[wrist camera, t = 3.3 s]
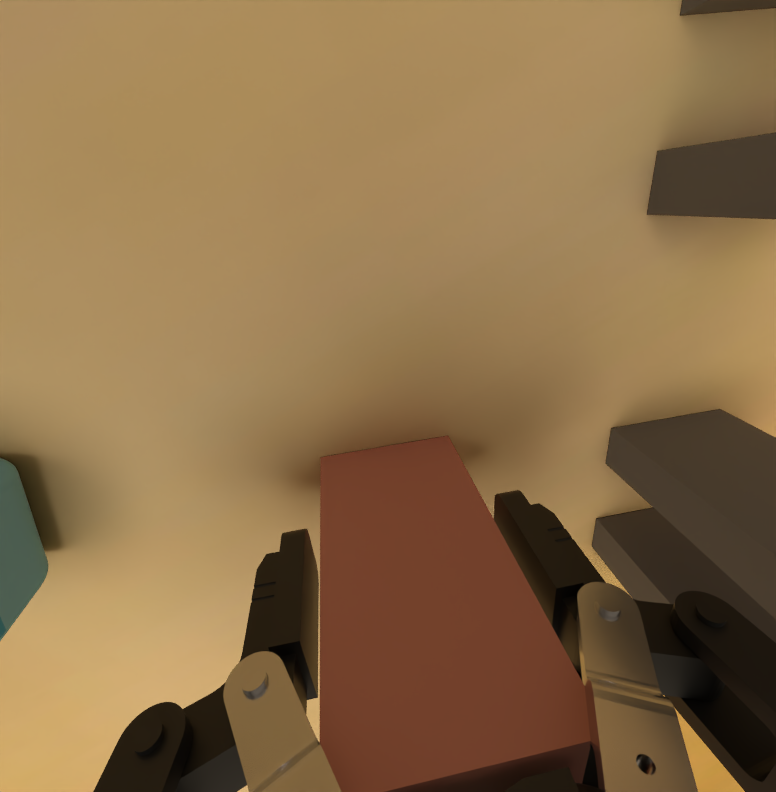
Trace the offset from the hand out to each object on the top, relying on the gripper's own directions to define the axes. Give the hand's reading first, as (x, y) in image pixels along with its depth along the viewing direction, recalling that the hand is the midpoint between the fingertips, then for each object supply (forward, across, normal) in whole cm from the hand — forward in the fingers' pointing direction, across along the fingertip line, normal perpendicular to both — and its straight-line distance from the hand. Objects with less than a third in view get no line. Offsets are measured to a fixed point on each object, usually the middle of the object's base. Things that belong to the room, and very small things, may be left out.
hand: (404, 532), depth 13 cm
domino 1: (+4, 0, 0) cm, 4 cm away
